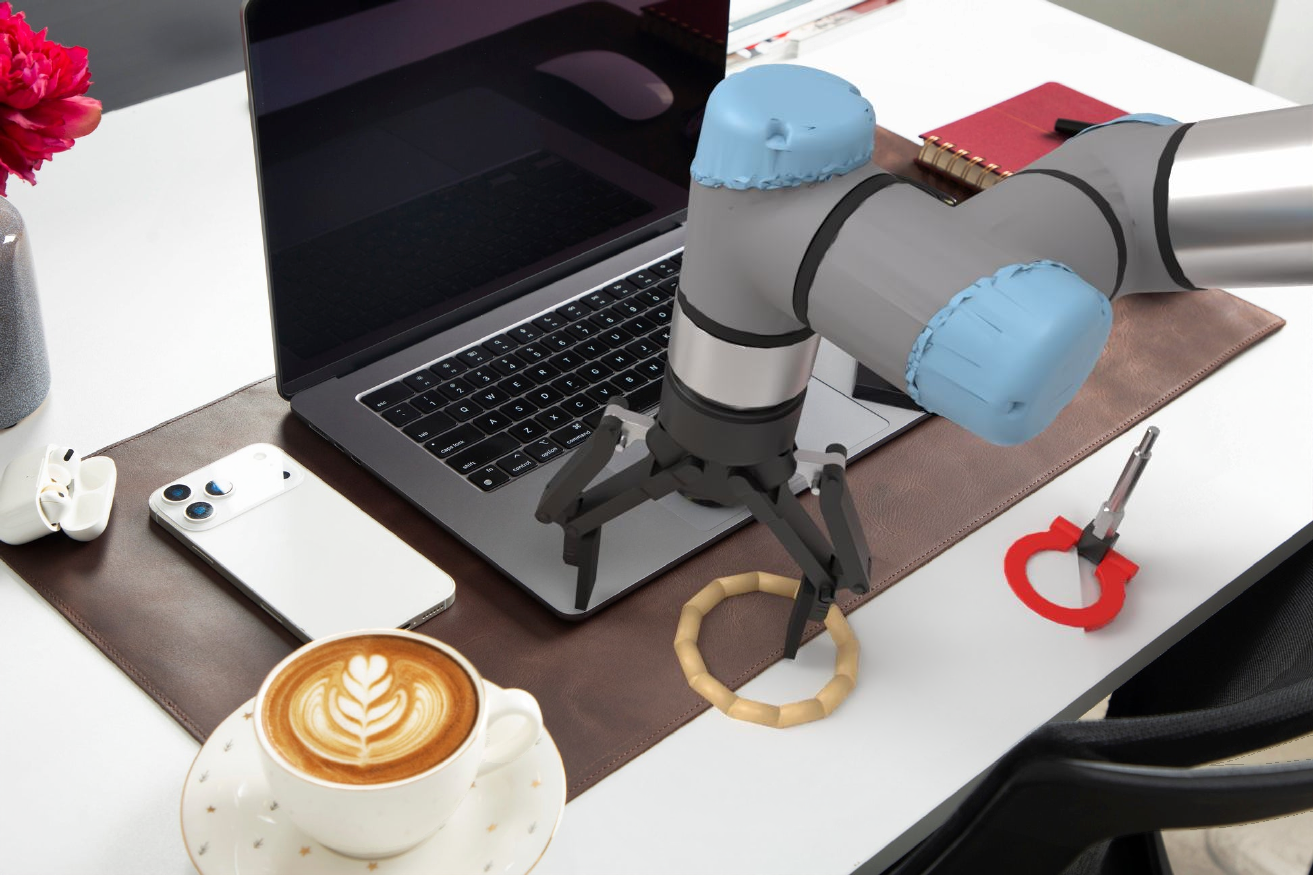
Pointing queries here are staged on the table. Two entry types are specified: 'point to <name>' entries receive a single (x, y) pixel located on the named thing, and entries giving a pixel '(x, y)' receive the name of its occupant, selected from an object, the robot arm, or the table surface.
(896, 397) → the stand
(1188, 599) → the table surface
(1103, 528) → the tow hook
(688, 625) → the ring
